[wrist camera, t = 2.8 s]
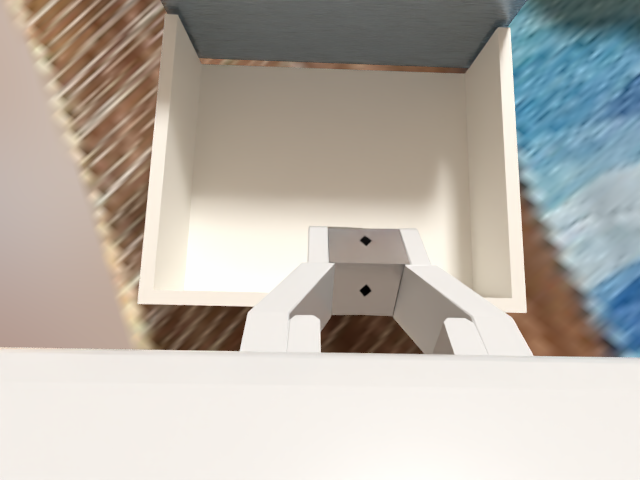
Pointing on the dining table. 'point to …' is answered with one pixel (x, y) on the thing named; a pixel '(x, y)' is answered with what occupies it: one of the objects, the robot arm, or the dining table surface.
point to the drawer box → (327, 171)
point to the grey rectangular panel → (344, 29)
